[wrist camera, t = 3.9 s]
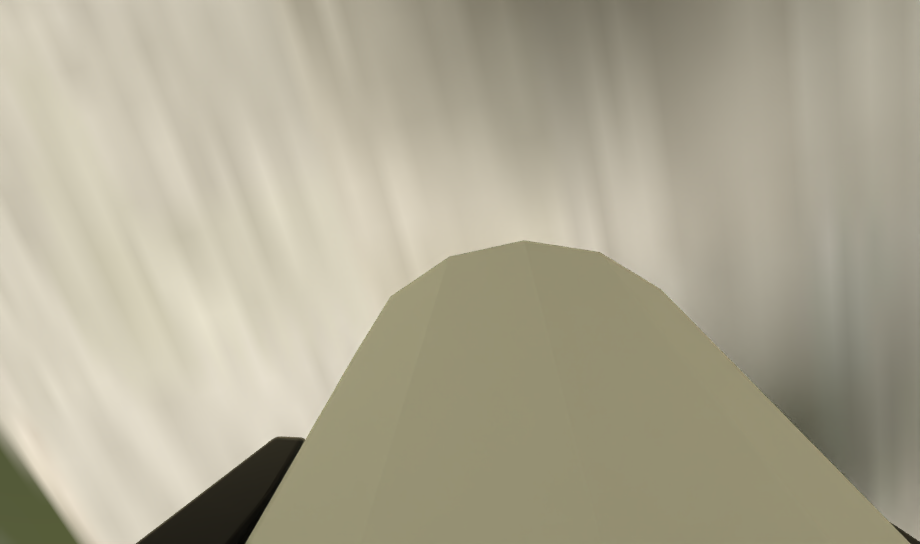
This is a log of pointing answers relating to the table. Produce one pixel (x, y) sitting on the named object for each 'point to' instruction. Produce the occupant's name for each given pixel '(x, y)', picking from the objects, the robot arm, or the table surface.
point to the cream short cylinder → (554, 424)
